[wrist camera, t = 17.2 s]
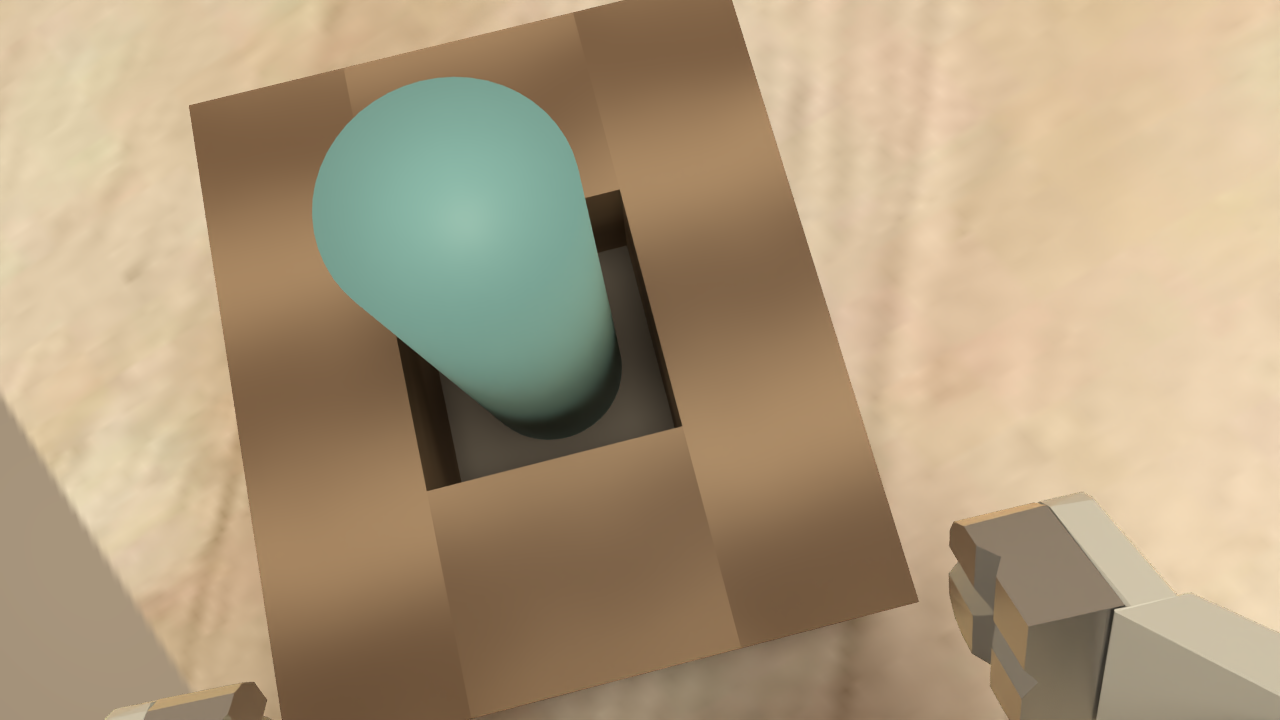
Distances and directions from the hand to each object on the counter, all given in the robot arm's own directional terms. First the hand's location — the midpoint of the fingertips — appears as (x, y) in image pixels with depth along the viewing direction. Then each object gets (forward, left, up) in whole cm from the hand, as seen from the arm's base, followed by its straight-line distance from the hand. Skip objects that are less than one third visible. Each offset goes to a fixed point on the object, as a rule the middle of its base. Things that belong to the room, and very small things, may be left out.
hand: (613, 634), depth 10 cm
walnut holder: (+6, +1, -14) cm, 16 cm away
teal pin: (+6, +1, -13) cm, 15 cm away
